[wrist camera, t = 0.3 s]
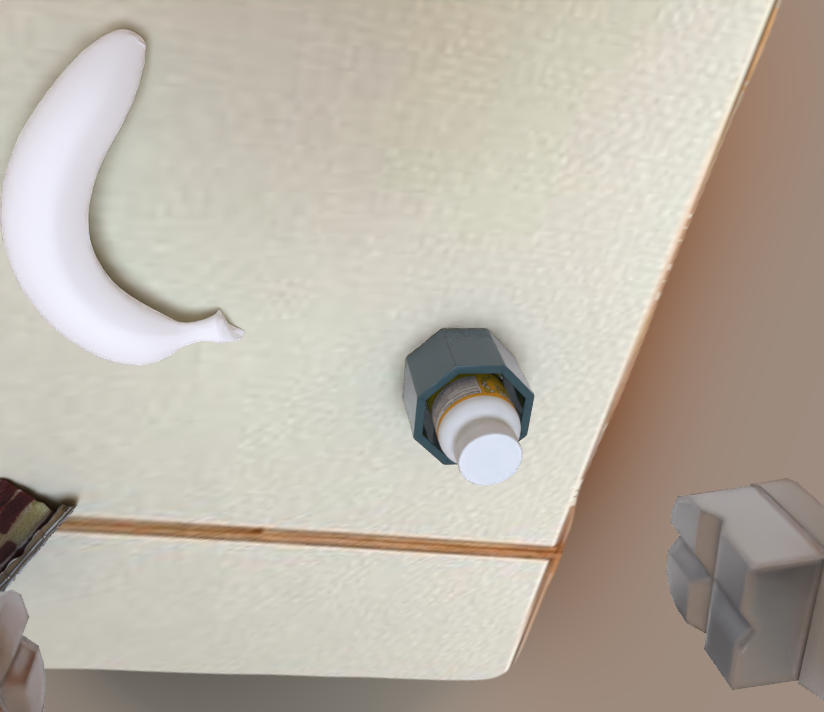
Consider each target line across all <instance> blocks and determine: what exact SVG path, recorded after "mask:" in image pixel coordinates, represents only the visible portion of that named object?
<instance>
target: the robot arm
mask: <svg viewBox="0 0 824 712" xmlns="http://www.w3.org/2000/svg"><path fill="white" fill-rule="evenodd" d="M671 524H672V525H673V526H674V527H675V529H676V530H677V531H678V533H679V534H680V537H679V538H678V539H677V540H676V542H675V543H674V544H673V546H671V548H670V549H669V550H668V558H667V577H668V582H669V588H670V593H671V595H672V598H673V600H674V602H675V605H676V607H677V609H678V611H679V612H680V614H681V615H682V617H683V618H684V620H685V621H686V623H688V624H690V625H691V626H693V627H695V628H697V629H699V630H701V631H702V632H704V633H706V638H705V646H704V649H705V651H706V652H707V654H708V655H709V657H710V658H711V660H712V661H713V662H714V664H715V665H716V666H717V668H718V670H719V671H720V673H721V674H722V676H723V677H724V678H725V680H726V681H727V683H728V684H729V686H730V687H731V689H732V690H735V689H741V688H748V687H755V686H762V685H769V684H775V683H782V682H789V681H796V680H799V682H798V683H799V684H800V685H801V686H803V687H804V688H806V689H807V690H809V691H810V692H812V693H813V694H815V695H816V696H818V697H819V698H821V699H822V700H824V506H823V505H822V504H821V503H820V502H819V501H818V500H817V499H816V498H814V497H813V496H812V495H811V494H810V493H809V492H808V491H807V490H805V489H804V488H803V487H802V486H801V485H800V484H799V483H797V482H795V481H793V480H790V479H787V478H786V479H780V480H774V481H768V482H762V483H756V484H751V485H750V486H746V487H739V488H732V489H725V490H719V491H712V492H705V493H698V494H692V495H685V496H678V498H677V500H676V502H675V504H674V506H673V511H672V519H671ZM28 619H29V615H28V612H27V609H26V607H25V604H24V601H23V599H22V596H21V594H19V593H17V592H15V591H13V590H8V591H0V712H43V709H44V700H45V687H46V678H45V670H44V662H43V659H42V655H41V652H40V649H39V646H38V645H36V644H35V643H34V642H32V641H31V640H29V639H28V638H26V637H25V636H23V635H22V634H23V632H24V629H25V626H26V624H27V621H28Z"/></svg>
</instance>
